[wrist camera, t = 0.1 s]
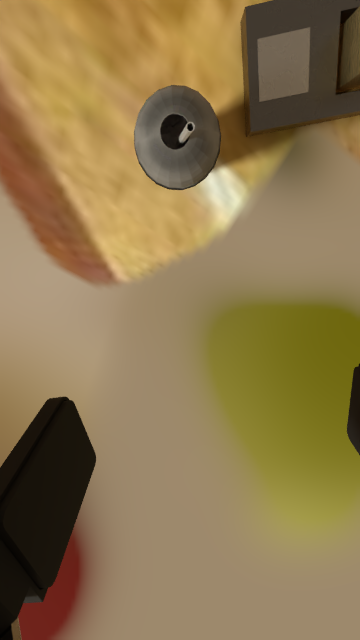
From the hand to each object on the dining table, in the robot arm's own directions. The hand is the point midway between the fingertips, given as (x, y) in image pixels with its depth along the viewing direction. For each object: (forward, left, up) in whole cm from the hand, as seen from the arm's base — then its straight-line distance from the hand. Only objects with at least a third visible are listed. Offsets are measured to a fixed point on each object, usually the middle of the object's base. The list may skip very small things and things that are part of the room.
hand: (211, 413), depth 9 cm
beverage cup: (-11, 0, -31) cm, 33 cm away
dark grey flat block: (-17, +20, -31) cm, 41 cm away
